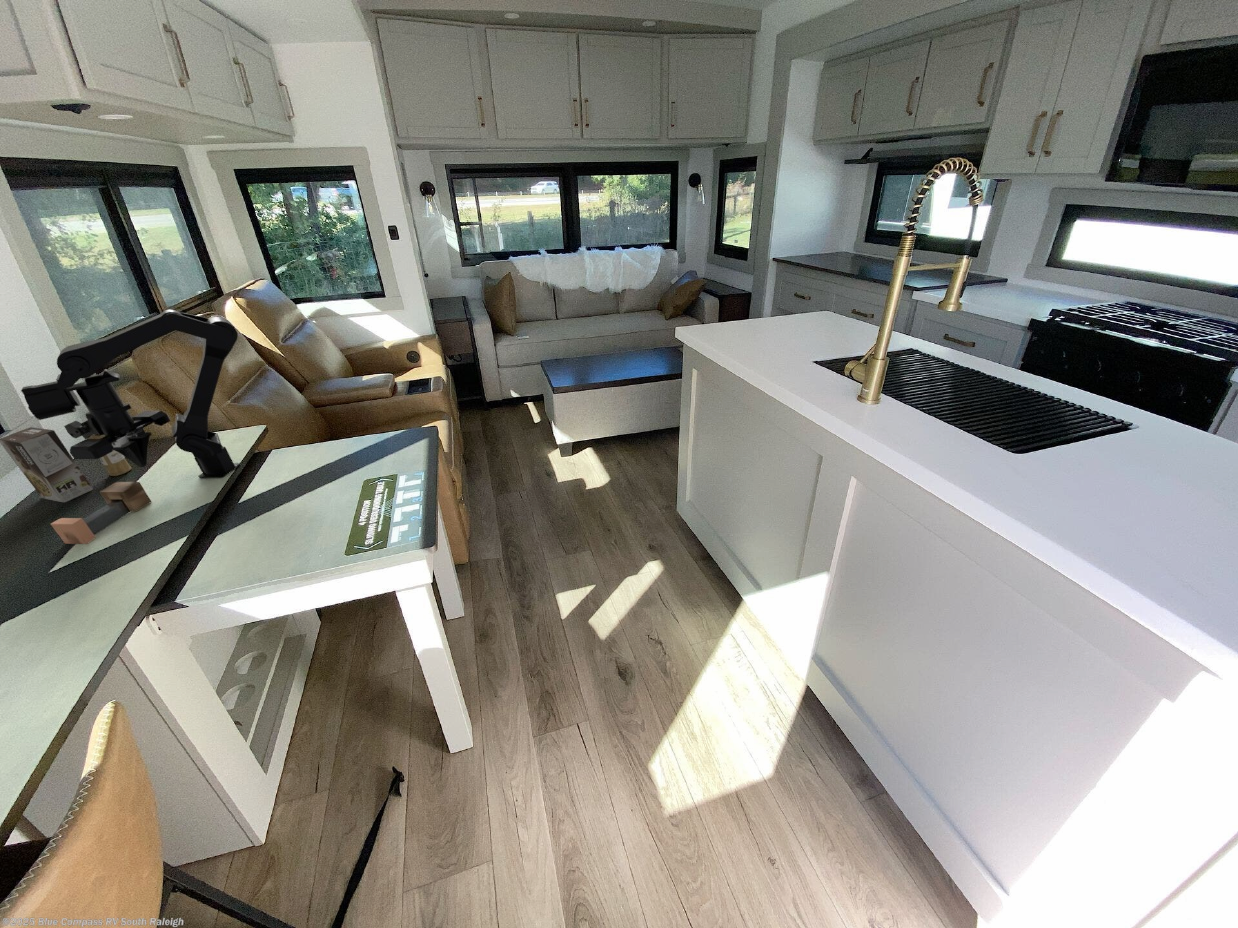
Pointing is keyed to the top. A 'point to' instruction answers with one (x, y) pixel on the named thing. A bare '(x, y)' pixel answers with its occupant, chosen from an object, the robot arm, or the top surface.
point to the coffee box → (46, 464)
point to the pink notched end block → (73, 530)
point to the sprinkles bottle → (113, 461)
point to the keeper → (127, 494)
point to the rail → (105, 516)
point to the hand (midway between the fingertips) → (143, 466)
